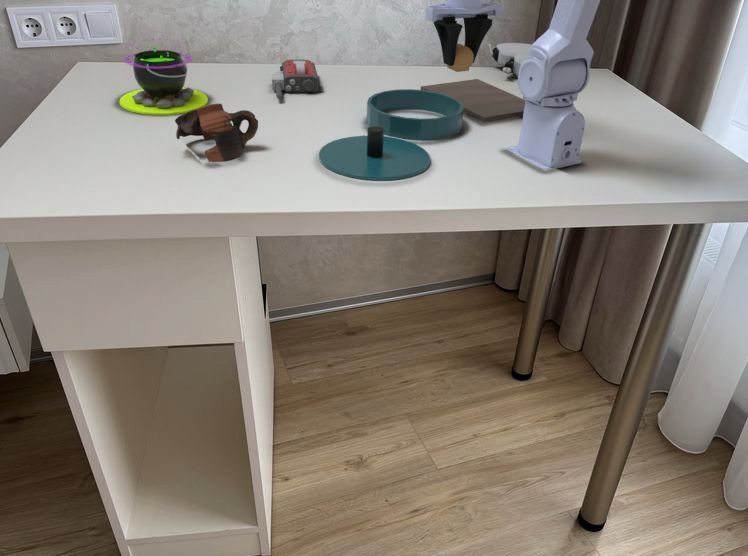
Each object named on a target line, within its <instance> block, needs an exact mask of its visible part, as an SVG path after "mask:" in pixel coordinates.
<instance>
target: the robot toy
mask: <svg viewBox="0 0 748 556" xmlns="http://www.w3.org/2000/svg"><path fill="white" fill-rule="evenodd" d="M531 46H532V44H530V43H523V42H502V43H499V44H497V45H496V47H493V49H492V46H491V43H489V44H488V48H489V51H490V57H492V58H493V60H494V61H495V62H496V63H497V64H498V65H500V66H501V67H502V72H503V73H505V74H512V72H513V73H514V75H515V76H516V78H517V79H518V73H519V69H520V66H521V64H522V62H523V61H524V60H525V59H526V58H527V56H528V54H529V52H530V50H531Z"/></svg>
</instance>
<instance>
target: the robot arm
mask: <svg viewBox="0 0 748 556" xmlns="http://www.w3.org/2000/svg"><path fill="white" fill-rule="evenodd" d="M600 2H601V0H557V3H556V6H555V9H554V11H553V15H552V19H551V20H550V24H549V27H548V29H547V30H546V31H545V32H544V33H543V34H542V35H540V37H538V38H537V39H536V40H535V41H534V42H533V43H532V44H531V45H532V46H531V50H530V52H529V54H528V56H527V58H526V59H525V60H524V61H523V62H522V64H521V66H520V69H519V73H518V78H517V83H518V88H519V91H520V93H521V94H522V99H524V100H526V101H525V107H524V114H523V118H522V121H521V127H520V134H519V140H518V145H513V146H510V147H509V146H508V147H506V148H505V149H506V150H507V151H509V152H511V153H513V154H515V155H517V156H518V157H521V158H523V159H524V160H526V161H528V162H530V163H532V164H534V165H535V166H538V167H539V168H541V169H544V170H547V169H552V168H555V169H560V168H565V167H569V166H575V165H578V164H579V165H580V164H581V163H582V160H581V159H580V158H579V156H580V151H581V147H582V143H583V137H584V133H585V128H586V119H585V116H584V114H583V113H581V112H580V111H579V110H577V108H576V107H575V104H574V102H575V101H577V100H578V96H579V94H580V93H581V92H583V91H584V90H585V89H586V87H587V86H588V83H589V81H590V77H591V62H592V59H593V57H594V54H595V52H594V51H595V50H594V49H593V48H592V45H590V43H589V41H588V40H587V37H588V36H589V32H590V29H591V27H592V24H593V22H594V18H595V15H596V14H597V10H598V8H599V5H600ZM502 6H503V4H502V3H501V2H498V1H484V0H447V1H446V2H444V3H440V4H435V5H427V6H425V12H424V19H425V20H426V21H429V22H432V23H433V25H434V28H435V30H436V33H437V35H438V38H439V39H438V40H439V42H440V48H441V53H442V60H443V64H444V65H446V66H447V65H449V66H453V65H454V61H455V56H456V47H457V43H458V42H459V38H460V35H461V32H462V30H463V28H464V46H467V47H468V48H470V49H471V51H472V52H473V56H474V60H473V63H472V64H474V63H475V61H476V58H477V56H478V52H479V50H480V47H481V45H482V43H483V41H484V39H485V37H486V35H487V33H488V32H489V30H490V29H491V28H492V27H493V19H492V18H489V17H491V16H494V17H501V15H502ZM456 19H463V24H461V23H458V21H457V20H456ZM463 26H464V27H463Z"/></svg>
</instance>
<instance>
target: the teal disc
mask: <svg viewBox="0 0 748 556" xmlns="http://www.w3.org/2000/svg"><path fill="white" fill-rule="evenodd" d="M366 131H367V133H366V135H356V136H355V135H354V136H348V137H342V138H338V139H335V140H332V141H330V142H328V143H326V144H324V145H323V146H321V148H320V150H319V152H318V157H319V158H318V159H319V162H320V163H321V165H322V166H323V167H324V168H326V169H328V170H329V171H331V172H333V173H335V174H338V175H341V176H345V177H348V178H352V179H359V180H365V181H395V180H403V179H407V178H411V177H414V176H417V175H419V174H422V173H423V172H425V171H426V170H427V169H428V167H429V166H430V164H431V157H430V154H429V152H428V151H427V150H426V149H425V148H423V147H422V146H420V145H418V144H415V143H414V142H411V141H408V140H406V139H401V138H395V137H390V136H385V135H384V129H383V128H382V127H378V126H371V127H369V126H368V127H367V130H366Z"/></svg>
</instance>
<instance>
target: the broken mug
mask: <svg viewBox="0 0 748 556" xmlns="http://www.w3.org/2000/svg"><path fill="white" fill-rule="evenodd" d="M243 121H247V123H248V126H247V129H246V131H244V132H243V131H242V130H241V125H242V123H243ZM174 122H175V124H176V125H177V129H176V132H175V133H176V134H175V136H176V140H180V138H181V137H182V138H186V137H190V136H193V137H201V136H202V137H203V140H205V141H214V142H215V145H214V146H213V147H210V148H209V149H208V148H207V149H206V150H204V155H205V156H206V159H207V161H208V162H209V163H222V162H226V161H229V160H231V161H232V160H234V159H237V158H239V157H240V156H242V153H243V149H244V148H245V147H246V144H247V143H248V142H249V141H251V140H252V139H253V138H254V137H256V134H257V131H258V129H259V120H258V119H257V118H256V115H255V114H254V113H253V112H252V111H250V110H247V109H243V110H239V111H236V112H228V111H225V109H224V107H223V104H222V103H210V104H207V105H205V106H204V107H200V108H197V109H194V110H191V111H189V112H187V113H182V114H181V115H179V116H178V117H176V118H175V119H174Z"/></svg>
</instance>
